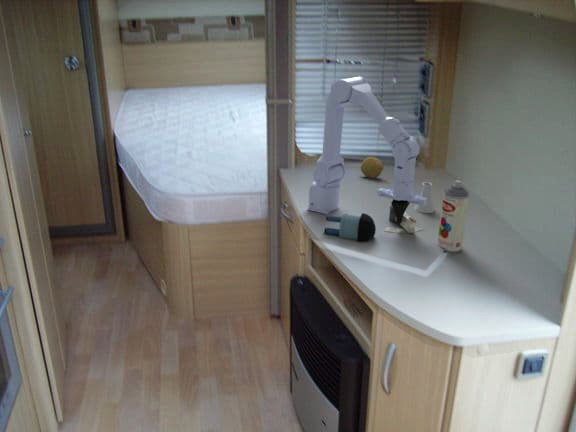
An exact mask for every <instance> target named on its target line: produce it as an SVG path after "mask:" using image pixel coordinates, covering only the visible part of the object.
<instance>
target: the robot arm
mask: <svg viewBox="0 0 576 432" xmlns="http://www.w3.org/2000/svg"><path fill="white" fill-rule="evenodd" d="M325 101H326V102H325V115H324V117H325V118H324V127H323V142H322V154H321V156H320V157H319V158H318V160H316V161H315V167H314V169H313V172H312V178H313V181H312V182H311V183H310V186H309V190H308V207H307V208H306V209H307V210H308V211H313V212H316V213H320V214H324V215H328V214H330V213H331V212H333V211H337V210H338V209H339V208H340V190H341V189H340V186H341V183H342V180H343V179H344V177H345V175H346V169H345V165H344V162H345V159H344V158H343V157H342V156H341V145H342V133H343V123H344V114H345V113H344V111H345V107H346V106H347V105H349V104H355V105H361V106H362V107H363V109H365V111H366V112H367V113H368V114H369V115H370V116H371V117H372V118H373V119H374V120H375V122H376V123H377V124H378V132H379V133H380V134H381V135H382V136H383V138H384V139H385V140H386V141H387V143H388V144H389V145H390V147H391V153H392V156H393V158H394V168H393V179H392V180H393V181H392V189H390V188H382V187H381V188H379V189H377V197H379V198H380V197H385V198H388V199H392V201H391V203H390V204H391V205H392V207H393V209H394V211H395V214H396V222H395V224H396V225H400V223H402V219H403V215H404V212H406V211H407V209H408V206H409V205H410V204H415V205H416V204H419V205H421V206H425V205H426V202H427V198H424V197H421V196H420V195H418V194H415V193H413V188H414V181H415V180H414V179H415V171H416V163H417V162H416V161H417V160H416V159H417V156H418V155H419V154H420V153H421V149H422V147H421V143H420V141H419V139H418V138H417V137H415V136H411V134H409V133H408V132H407V131H406V130H405V128H404V127H403V126H402V125H401V124H400V123H401V121H400V120H399V119H398V118H395V117H391V116H389V115H388V113H387V112H386V111H385V109H384V107H383V106H382V105H381V103H380V102H379V101H378V99H377V98H376V96H375V94H374V93H373V92H372V88H371V85H370V84H369V83H368V82H367V80H366V79H365V78H364V77H363V76H359V75H358V76H355V77H350V78H343V79H338V80H336V81H335V82H333V83H331V86H330V91H329V94H328V95H327V97H326V100H325ZM391 205H390V206H391Z"/></svg>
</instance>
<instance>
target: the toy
mask: <svg viewBox="0 0 576 432" xmlns="http://www.w3.org/2000/svg"><path fill="white" fill-rule="evenodd" d="M325 221H326V222H331V223H339V228H331V227H325V228H324V231H323V232H324V233H325V234H327V235H334V236H339V238H340V239H347V240H356V241H357V242H358V243H365V242H369V241H371V240H372V239H374V237H375V235H376V231H377V230H376V229H377V228H376V224H375V221H374V219H373V217H372V216H370V215H369V214H367V213H363V212H362V213H361V215H352V214H347V213H343V214H342V215H341V216H336V215H327V216H326V219H325Z"/></svg>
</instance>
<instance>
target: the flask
mask: <svg viewBox="0 0 576 432" xmlns="http://www.w3.org/2000/svg"><path fill="white" fill-rule="evenodd" d="M421 185H422V187H421V188H422V190H421V193H420V195H419V196H421V197H424V198H427V202H426V205H425V206H421V205H419V204H415V205H414V207H413V209H414V210H415V211H416V212H418V213H423V214H433V213H434V212H435V206H434V202H433V198H432V190H431V189H432V186H433V184H432V183H431V182H425V181H424V182H422V183H421Z"/></svg>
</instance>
